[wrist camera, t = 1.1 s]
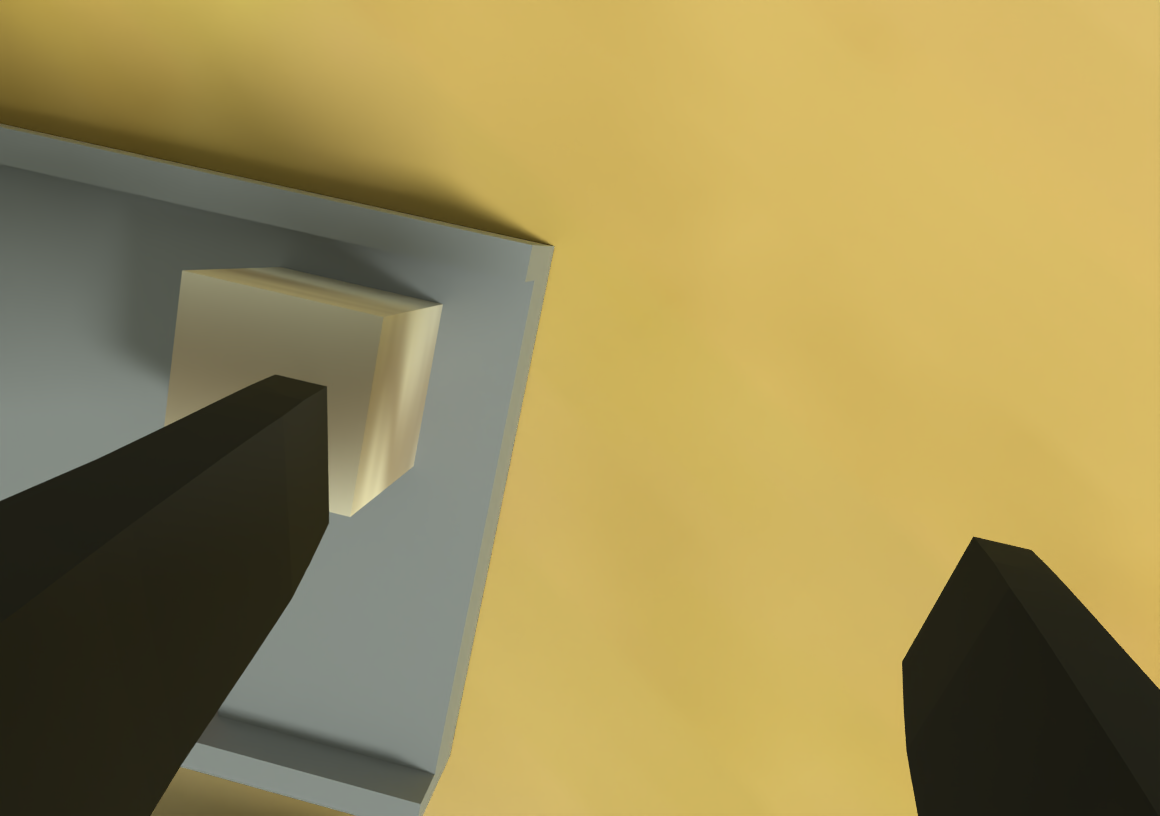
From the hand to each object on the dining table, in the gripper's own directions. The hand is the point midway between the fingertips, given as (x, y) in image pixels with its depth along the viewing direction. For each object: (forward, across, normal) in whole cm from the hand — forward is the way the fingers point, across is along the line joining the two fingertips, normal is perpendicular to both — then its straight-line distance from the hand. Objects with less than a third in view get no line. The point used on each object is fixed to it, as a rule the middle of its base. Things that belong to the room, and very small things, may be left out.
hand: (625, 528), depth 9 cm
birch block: (+9, +7, +5) cm, 12 cm away
